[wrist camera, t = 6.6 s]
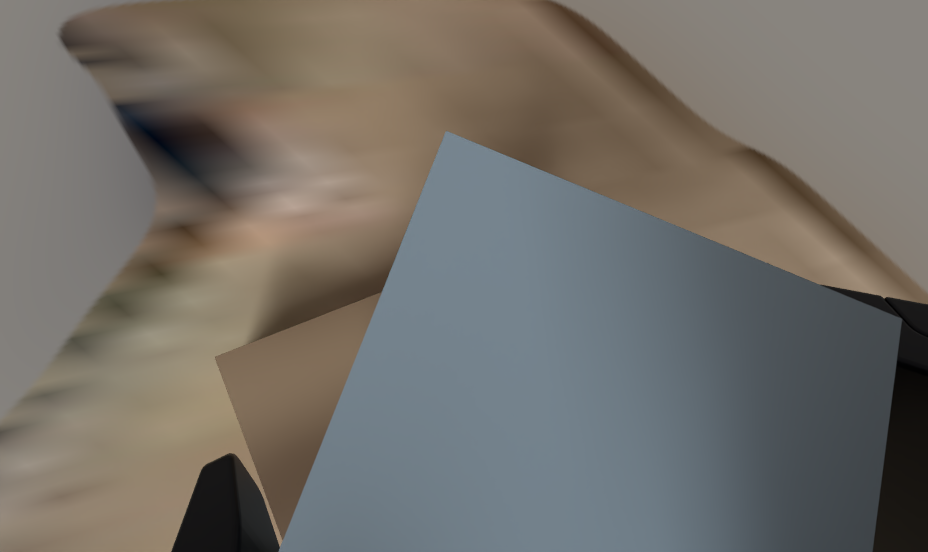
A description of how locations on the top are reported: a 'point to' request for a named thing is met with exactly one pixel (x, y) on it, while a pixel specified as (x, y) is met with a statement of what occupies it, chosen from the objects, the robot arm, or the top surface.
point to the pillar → (596, 387)
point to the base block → (293, 396)
